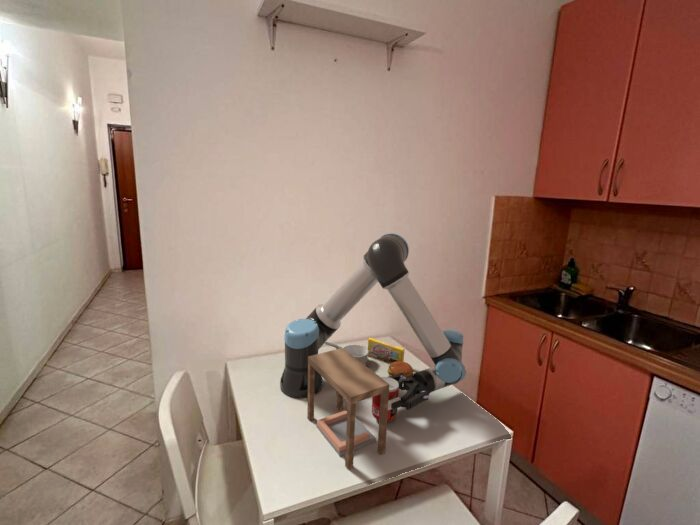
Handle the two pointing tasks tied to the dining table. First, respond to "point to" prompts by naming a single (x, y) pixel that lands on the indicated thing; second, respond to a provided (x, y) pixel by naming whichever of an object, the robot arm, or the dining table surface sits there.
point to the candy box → (385, 351)
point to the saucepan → (354, 351)
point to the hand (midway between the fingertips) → (373, 400)
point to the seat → (343, 432)
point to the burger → (400, 369)
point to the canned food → (392, 394)
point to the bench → (349, 391)
